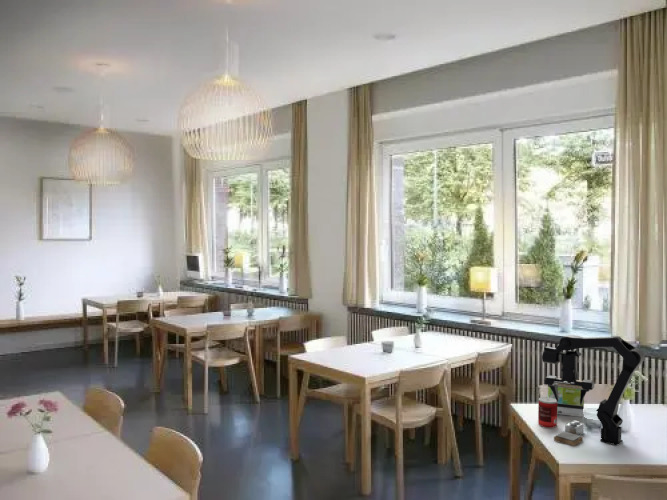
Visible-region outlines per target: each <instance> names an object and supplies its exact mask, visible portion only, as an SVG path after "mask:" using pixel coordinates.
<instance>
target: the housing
mask: <svg viewBox="0 0 667 500" xmlns="http://www.w3.org/2000/svg"><path fill="white" fill-rule="evenodd" d="M584 429H585V424H584V423H583V422H581V421H580V420H576V419H575V420H572V421H569V422H568V423H567V424H565V429H564V430H565V431H564V432H568V433H572V434H576V435H579V436H582V435H583V434H584Z"/></svg>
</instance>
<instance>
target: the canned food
mask: <svg viewBox="0 0 667 500" xmlns="http://www.w3.org/2000/svg"><path fill="white" fill-rule="evenodd" d="M537 409H538V413H537V414H538V419H537V423H538V425H539V426H541V427H544V428H551V429H552V428H556V427H557V425H558V414H557V400H556V399H554V398H551V397H547V396H541V397H539V398H538V408H537Z"/></svg>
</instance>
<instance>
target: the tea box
mask: <svg viewBox="0 0 667 500" xmlns="http://www.w3.org/2000/svg"><path fill="white" fill-rule="evenodd" d="M557 379H561V378H559V377H557ZM576 381H581V382H582V381H583V380H580V379H579V380H576ZM564 382H565V381H564ZM581 389H582V387H581V386H576V385H568V384H560V383H558V396H559V401H558V402H557V415H562V416H571V417H579V418H584V412H583V409H584V408H585V398H584V399H583V402H582V405H580V394H581ZM546 395H547V396H546V397H551V398H554V399H556V398H555V396H554V393H553V392H552V390H551V388H550V387H548V386H547V394H546Z"/></svg>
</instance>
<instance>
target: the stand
mask: <svg viewBox="0 0 667 500" xmlns="http://www.w3.org/2000/svg"><path fill="white" fill-rule="evenodd" d="M583 439H584V436H582V435H576V434H572V433H568V432H565V431H561V432H559V433H558V434H556V435H555V436H553V440H554V442H557V443H562V444H565V445H569V446H572V447H575V446H577V445H578V444H580V443H582V442H583V441H584V440H583Z"/></svg>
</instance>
